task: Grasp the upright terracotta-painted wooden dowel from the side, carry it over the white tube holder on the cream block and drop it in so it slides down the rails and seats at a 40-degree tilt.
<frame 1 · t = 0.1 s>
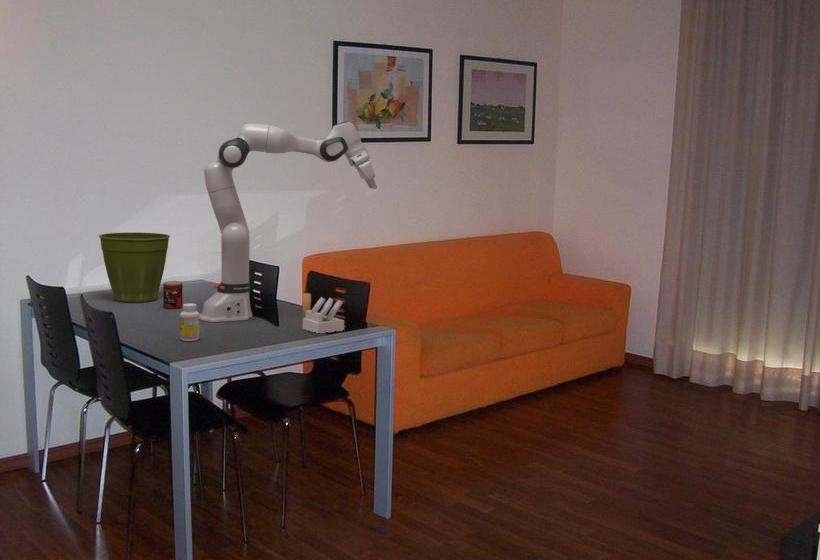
hand: (373, 188, 353), 54 cm above the table, tool tilted 30°, fingers open, 8 cm apart
supplement bottle: (189, 340, 306), on the table
peg: (306, 323, 342), on the table
plant pot: (135, 299, 380), on the table
canned food: (172, 308, 364), on the table
white tube holder: (320, 329, 331), on the table
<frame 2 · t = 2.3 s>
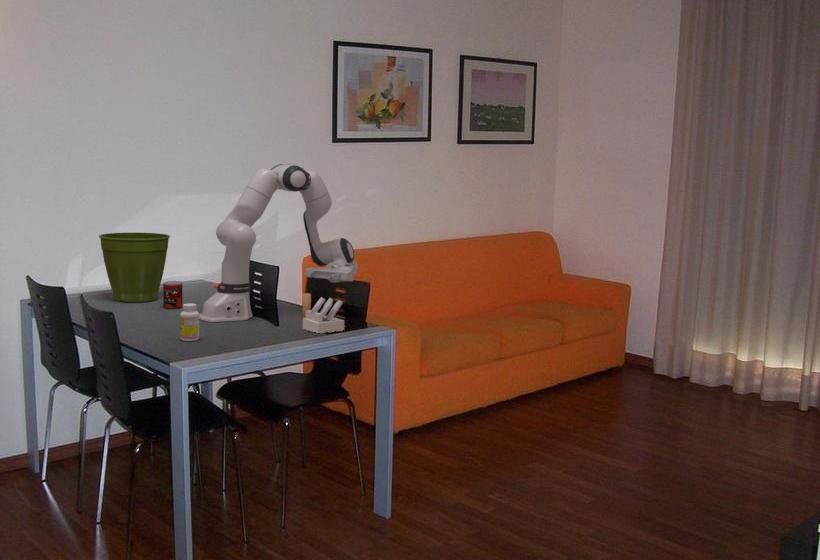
hand: (321, 276, 351), 18 cm above the table, tool horizontal, fingers open, 8 cm apart
nothing on the table moved.
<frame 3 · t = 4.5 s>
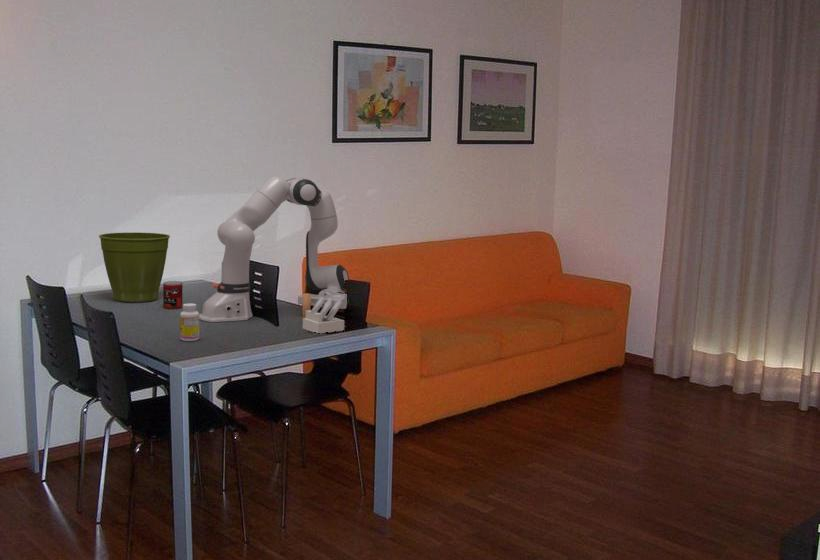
hand: (313, 304, 347), 7 cm above the table, tool horizontal, fingers open, 8 cm apart
nothing on the table moved.
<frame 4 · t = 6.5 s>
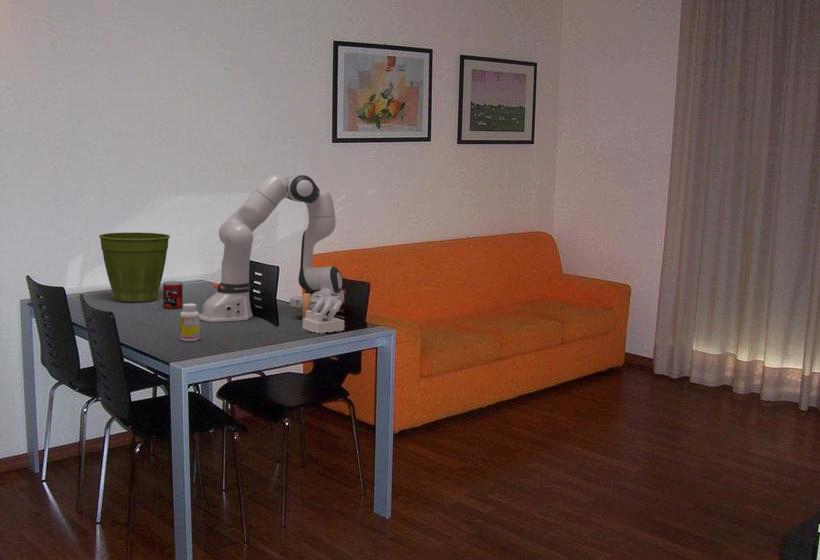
hand: (305, 306, 340), 7 cm above the table, tool horizontal, fingers closed on peg, 3 cm apart
peg: (306, 323, 342), on the table, touching gripper
everything else where it was.
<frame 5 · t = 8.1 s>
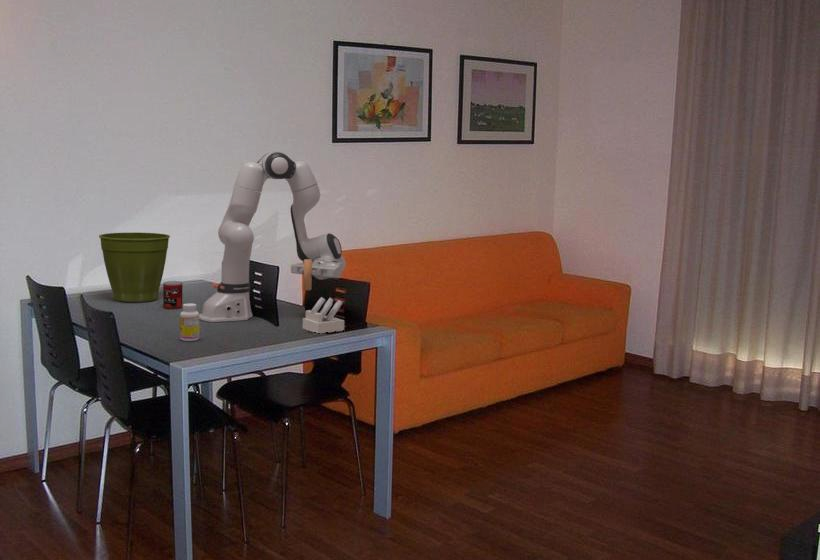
hand: (306, 272, 338), 21 cm above the table, tool horizontal, fingers closed on peg, 3 cm apart
peg: (307, 289, 340), point 14 cm above the table, touching gripper
everything else where it was.
when the fingers open (17 cm above the table, at t = 9.8 s): peg drops 5 cm and tips over, resting on white tube holder.
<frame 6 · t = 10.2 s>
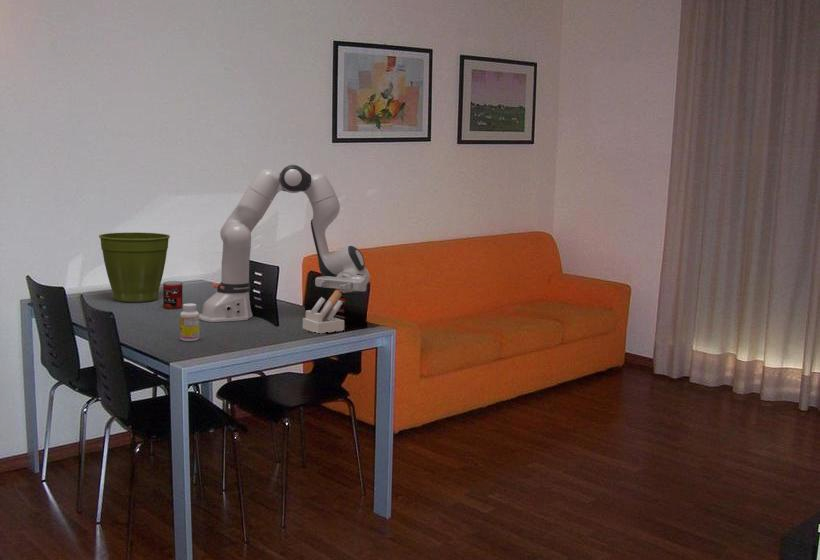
hand: (332, 286, 331), 17 cm above the table, tool horizontal, fingers open, 8 cm apart
peg: (321, 316, 331), point 5 cm above the table, tilted 43°, touching white tube holder
everything else where it was.
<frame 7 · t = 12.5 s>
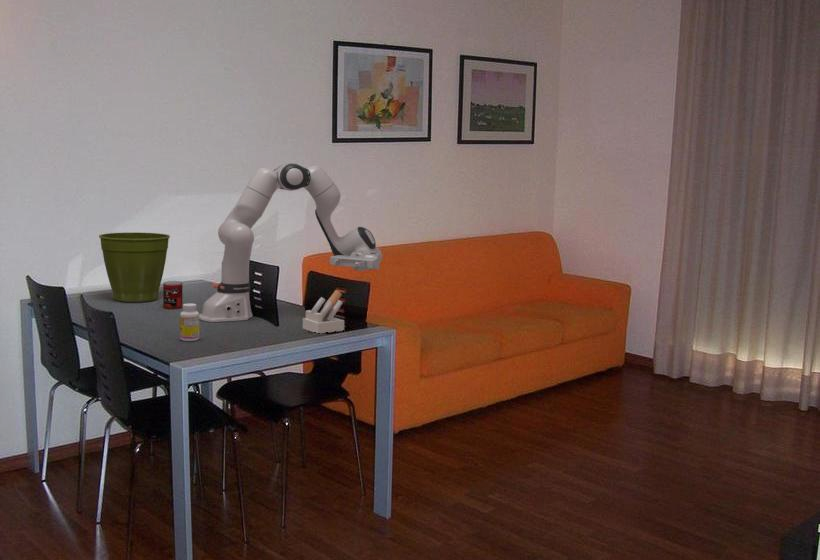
hand: (346, 264, 342), 24 cm above the table, tool horizontal, fingers open, 8 cm apart
nothing on the table moved.
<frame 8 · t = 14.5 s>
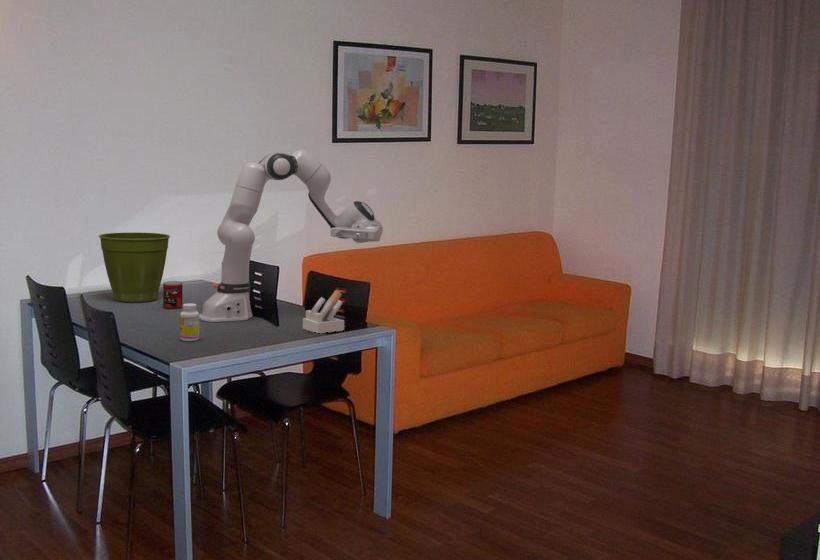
hand: (347, 234, 340), 36 cm above the table, tool horizontal, fingers open, 8 cm apart
nothing on the table moved.
at the end: peg inside the target area on the white tube holder (0.4 cm from its centre), point 5.1 cm above the white tube holder's base; peg tilted 43°; the gripper is holding nothing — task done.
